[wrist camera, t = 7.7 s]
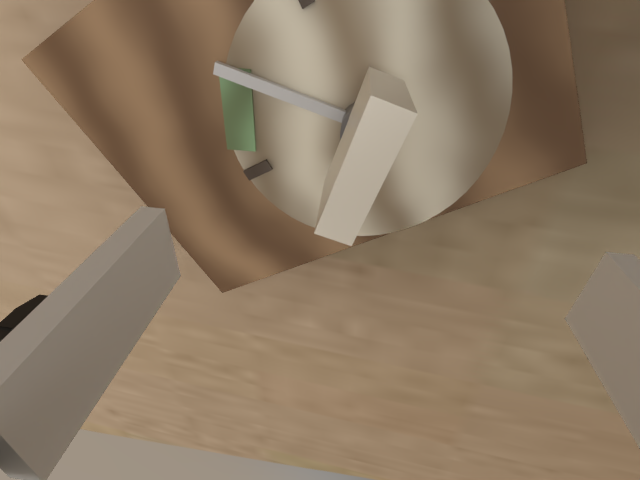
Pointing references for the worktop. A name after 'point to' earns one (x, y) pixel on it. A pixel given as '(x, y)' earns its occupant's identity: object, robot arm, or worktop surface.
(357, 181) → the beige block with bar
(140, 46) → the tuner board
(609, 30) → the worktop surface
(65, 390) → the robot arm
